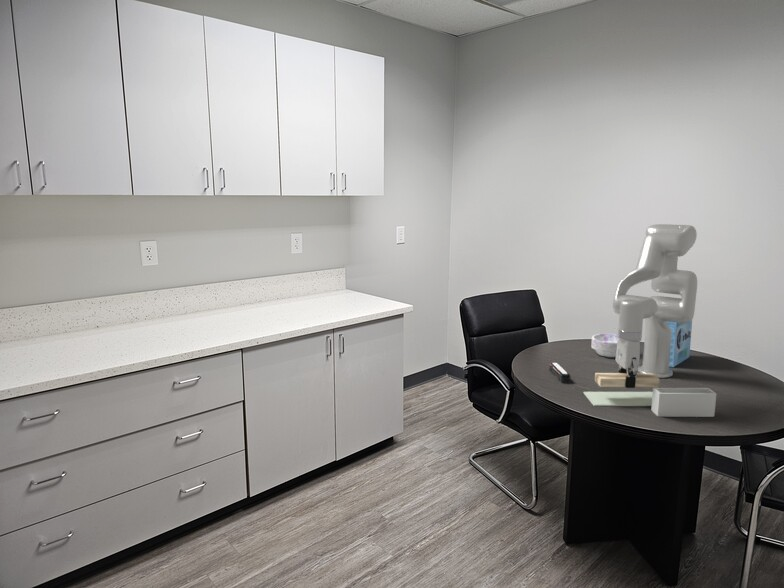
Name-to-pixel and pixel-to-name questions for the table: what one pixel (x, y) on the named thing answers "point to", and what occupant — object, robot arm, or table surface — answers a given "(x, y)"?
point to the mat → (620, 398)
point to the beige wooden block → (620, 380)
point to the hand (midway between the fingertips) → (626, 383)
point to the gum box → (679, 342)
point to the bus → (559, 373)
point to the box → (683, 402)
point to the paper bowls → (605, 344)
